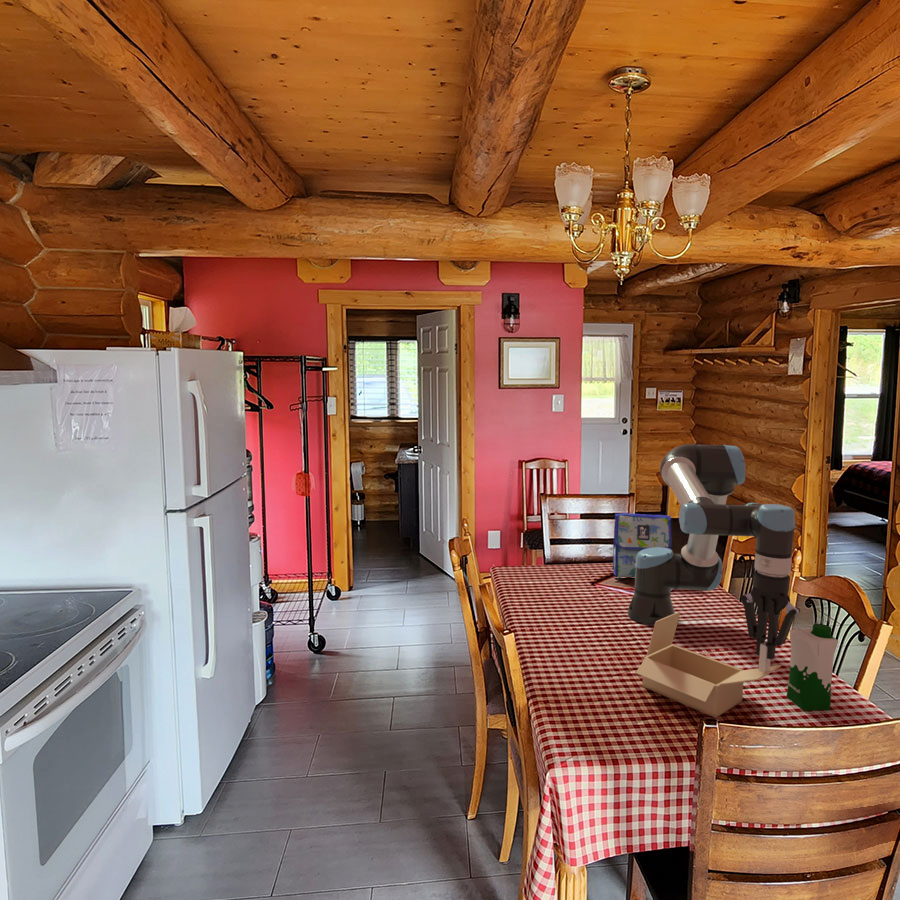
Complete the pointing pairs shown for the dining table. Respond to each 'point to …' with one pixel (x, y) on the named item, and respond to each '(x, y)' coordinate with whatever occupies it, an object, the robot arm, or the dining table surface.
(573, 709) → the dining table surface
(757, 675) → the flap
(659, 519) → the lunch bag
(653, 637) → the flap
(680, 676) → the carton
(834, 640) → the milk carton
